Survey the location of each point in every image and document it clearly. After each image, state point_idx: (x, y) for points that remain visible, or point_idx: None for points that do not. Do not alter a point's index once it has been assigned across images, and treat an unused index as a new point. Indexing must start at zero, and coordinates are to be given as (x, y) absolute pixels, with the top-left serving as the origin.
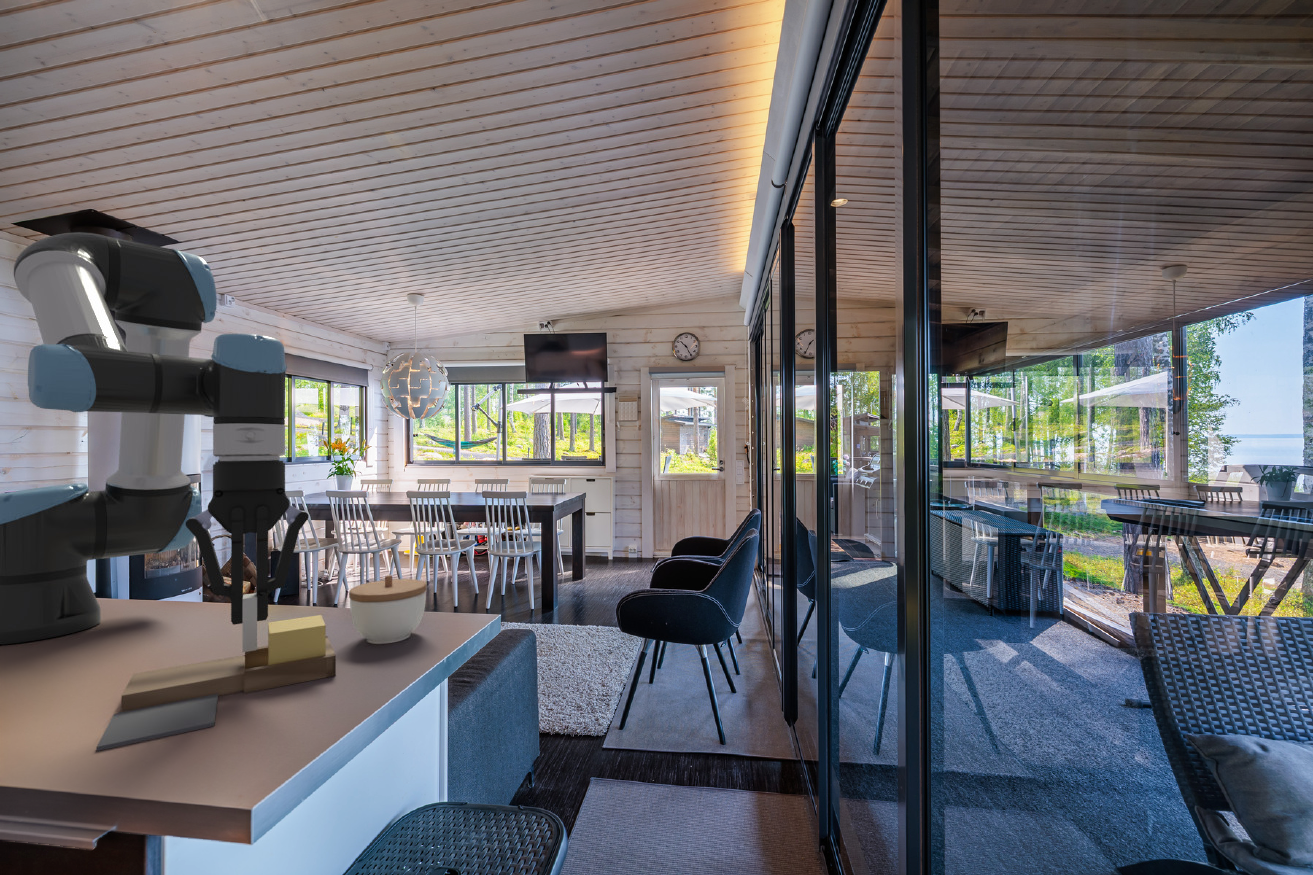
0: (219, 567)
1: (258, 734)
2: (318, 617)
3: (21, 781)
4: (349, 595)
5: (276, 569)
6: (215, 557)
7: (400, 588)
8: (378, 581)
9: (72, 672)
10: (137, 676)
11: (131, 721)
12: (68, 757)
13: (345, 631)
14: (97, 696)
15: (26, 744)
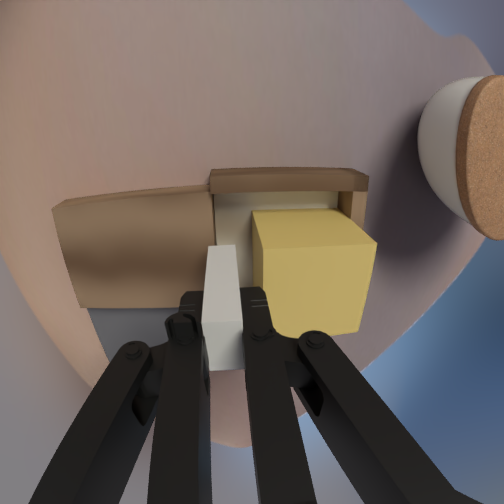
0: (128, 428)
1: (242, 398)
2: (366, 266)
3: (92, 386)
4: (460, 144)
5: (318, 384)
6: (127, 480)
7: None
8: None
9: None
10: (62, 228)
11: (115, 335)
12: (99, 368)
13: (395, 35)
14: (33, 201)
15: (47, 323)
